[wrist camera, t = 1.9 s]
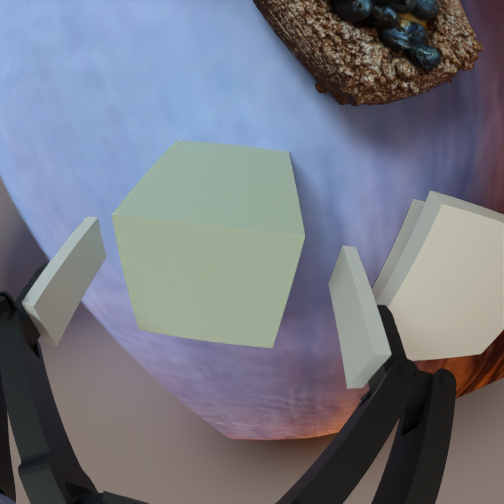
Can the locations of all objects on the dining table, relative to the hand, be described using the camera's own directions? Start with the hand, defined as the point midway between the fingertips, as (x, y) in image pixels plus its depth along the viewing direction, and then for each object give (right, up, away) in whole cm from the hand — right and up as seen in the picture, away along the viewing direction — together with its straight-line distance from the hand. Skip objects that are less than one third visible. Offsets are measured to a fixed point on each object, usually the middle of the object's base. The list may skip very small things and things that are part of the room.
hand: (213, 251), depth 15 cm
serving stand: (+21, -2, +7) cm, 22 cm away
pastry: (+8, +14, -4) cm, 17 cm away
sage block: (0, +4, +4) cm, 6 cm away
